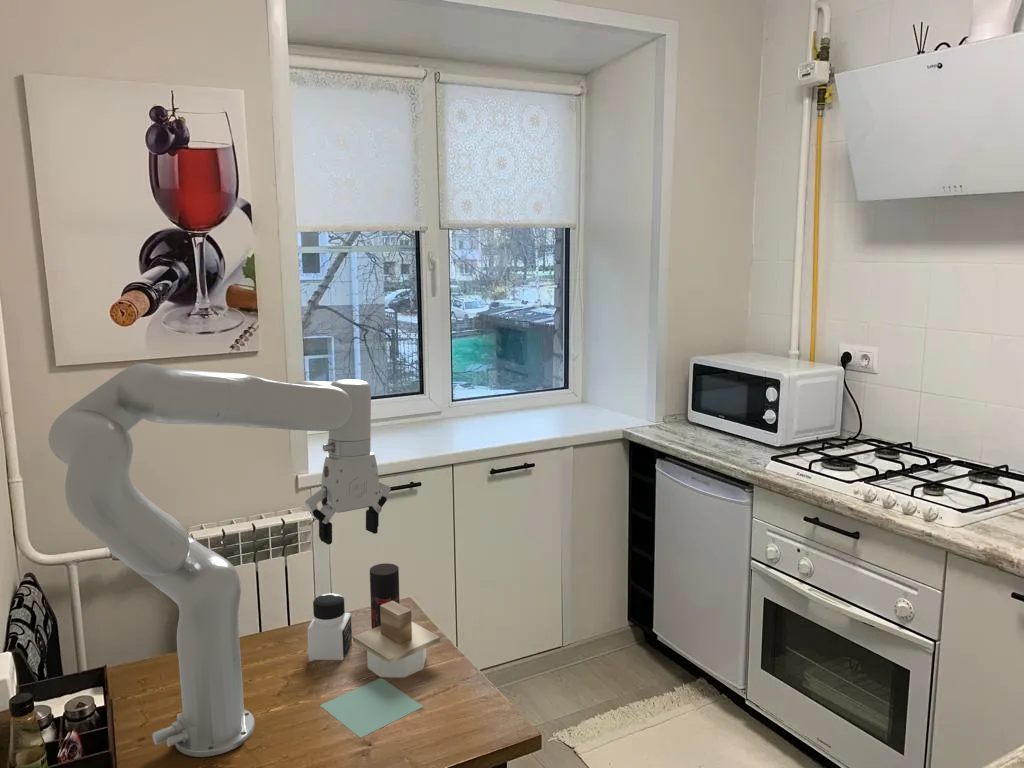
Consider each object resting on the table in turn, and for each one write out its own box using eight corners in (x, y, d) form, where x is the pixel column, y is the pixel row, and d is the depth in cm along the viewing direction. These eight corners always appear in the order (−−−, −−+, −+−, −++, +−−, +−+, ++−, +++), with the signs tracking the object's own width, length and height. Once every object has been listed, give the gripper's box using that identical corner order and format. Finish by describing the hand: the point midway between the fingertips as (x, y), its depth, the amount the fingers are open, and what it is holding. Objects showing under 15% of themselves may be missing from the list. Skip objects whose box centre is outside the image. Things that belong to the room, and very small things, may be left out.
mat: (360, 741, 129) (360, 737, 129) (319, 708, 138) (319, 705, 138) (423, 709, 137) (423, 706, 137) (381, 680, 147) (381, 677, 147)
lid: (389, 664, 143) (388, 628, 142) (352, 641, 151) (351, 607, 150) (440, 641, 151) (439, 608, 150) (403, 621, 160) (402, 588, 158)
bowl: (390, 686, 145) (389, 661, 144) (358, 664, 152) (357, 640, 152) (436, 665, 152) (435, 641, 151) (403, 645, 160) (402, 622, 159)
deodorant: (384, 627, 168) (382, 561, 165) (406, 634, 164) (404, 567, 162) (365, 638, 162) (363, 571, 160) (388, 646, 159) (386, 577, 157)
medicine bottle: (344, 662, 153) (342, 605, 151) (308, 662, 153) (305, 605, 151) (352, 644, 160) (350, 589, 158) (318, 644, 160) (315, 589, 158)
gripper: (317, 457, 134) (317, 552, 137) (400, 445, 146) (399, 533, 148) (296, 449, 140) (297, 541, 142) (378, 438, 151) (377, 523, 154)
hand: (349, 536), depth 145 cm, fingers open, 9 cm apart
